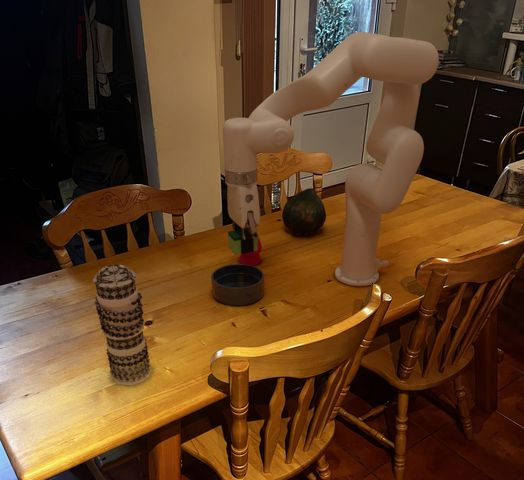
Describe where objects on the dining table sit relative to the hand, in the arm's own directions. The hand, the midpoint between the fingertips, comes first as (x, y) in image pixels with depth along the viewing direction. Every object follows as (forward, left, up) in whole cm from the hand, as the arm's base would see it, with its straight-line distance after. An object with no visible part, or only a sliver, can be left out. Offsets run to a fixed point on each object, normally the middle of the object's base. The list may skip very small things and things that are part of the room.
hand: (243, 247), depth 134 cm
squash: (-37, -35, -15) cm, 53 cm away
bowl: (0, -4, -15) cm, 16 cm away
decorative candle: (+35, +19, -15) cm, 43 cm away
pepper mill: (-11, -21, -15) cm, 28 cm away
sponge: (0, 0, 0) cm, 0 cm away
